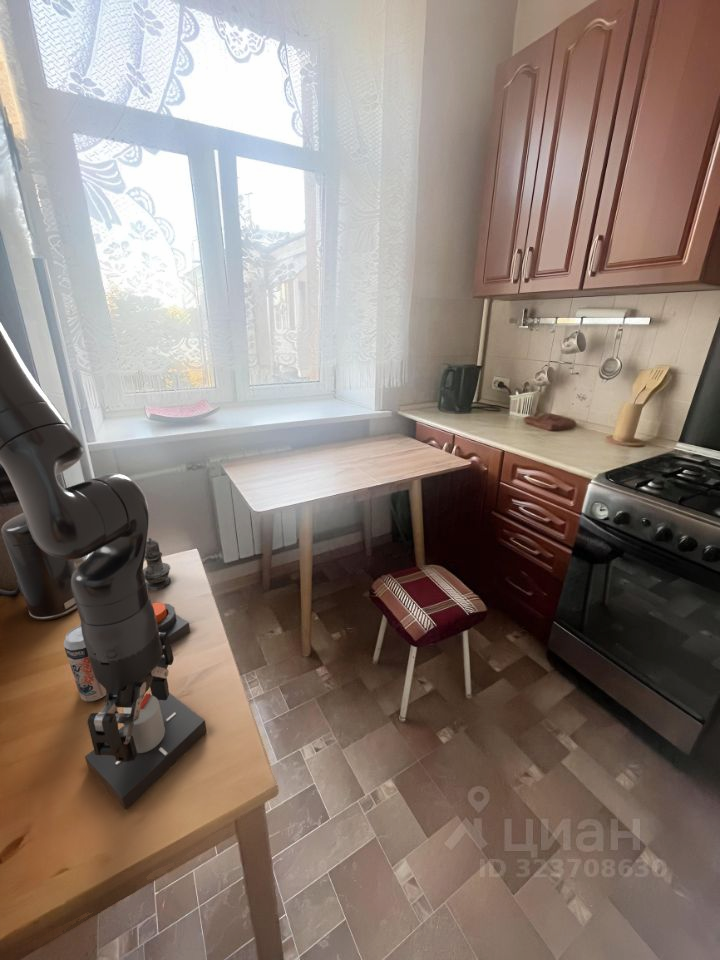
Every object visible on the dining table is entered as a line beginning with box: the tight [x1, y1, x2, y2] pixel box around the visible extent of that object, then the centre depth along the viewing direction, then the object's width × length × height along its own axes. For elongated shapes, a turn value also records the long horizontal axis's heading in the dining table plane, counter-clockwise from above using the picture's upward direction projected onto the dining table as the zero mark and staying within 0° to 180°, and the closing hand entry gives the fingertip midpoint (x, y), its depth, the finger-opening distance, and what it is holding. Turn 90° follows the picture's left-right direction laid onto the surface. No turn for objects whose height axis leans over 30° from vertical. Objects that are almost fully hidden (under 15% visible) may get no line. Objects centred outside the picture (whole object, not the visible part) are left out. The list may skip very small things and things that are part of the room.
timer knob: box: [122, 693, 165, 753], centre depth 53 cm, size 4×4×6 cm
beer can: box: [63, 624, 106, 702], centre depth 62 cm, size 5×5×12 cm
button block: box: [157, 603, 191, 646], centre depth 75 cm, size 10×7×4 cm
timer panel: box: [84, 692, 208, 811], centre depth 55 cm, size 9×12×3 cm
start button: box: [152, 602, 167, 623], centre depth 74 cm, size 4×4×2 cm
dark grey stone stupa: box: [143, 537, 172, 591], centre depth 88 cm, size 6×6×12 cm
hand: (145, 725), depth 54 cm, fingers open, 8 cm apart
